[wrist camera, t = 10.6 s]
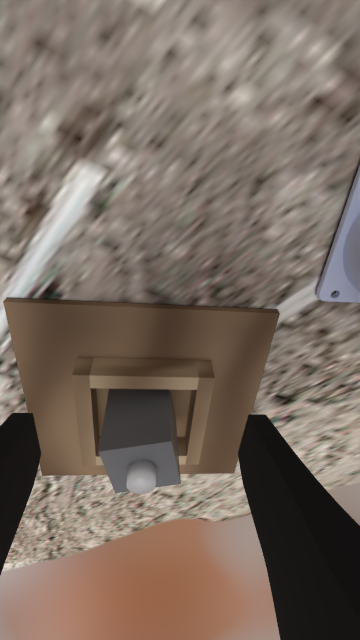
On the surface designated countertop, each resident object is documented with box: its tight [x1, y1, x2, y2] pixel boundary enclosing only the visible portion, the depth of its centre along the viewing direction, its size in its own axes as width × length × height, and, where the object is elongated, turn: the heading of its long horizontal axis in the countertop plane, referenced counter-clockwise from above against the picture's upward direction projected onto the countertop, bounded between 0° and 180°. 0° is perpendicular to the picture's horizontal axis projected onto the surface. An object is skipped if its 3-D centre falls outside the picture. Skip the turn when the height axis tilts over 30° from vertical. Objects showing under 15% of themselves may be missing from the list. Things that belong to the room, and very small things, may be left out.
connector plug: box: [98, 389, 181, 494], centre depth 20 cm, size 4×4×6 cm
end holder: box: [3, 298, 280, 476], centre depth 22 cm, size 16×16×2 cm
